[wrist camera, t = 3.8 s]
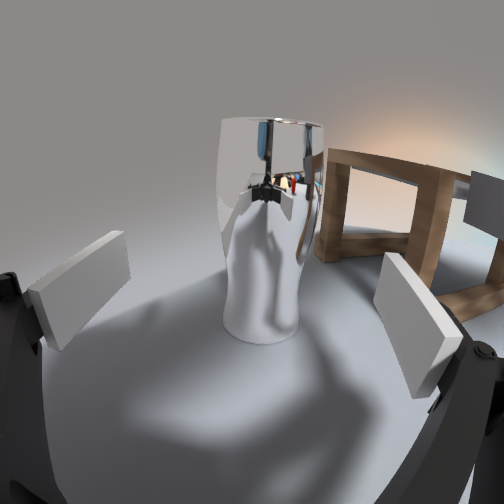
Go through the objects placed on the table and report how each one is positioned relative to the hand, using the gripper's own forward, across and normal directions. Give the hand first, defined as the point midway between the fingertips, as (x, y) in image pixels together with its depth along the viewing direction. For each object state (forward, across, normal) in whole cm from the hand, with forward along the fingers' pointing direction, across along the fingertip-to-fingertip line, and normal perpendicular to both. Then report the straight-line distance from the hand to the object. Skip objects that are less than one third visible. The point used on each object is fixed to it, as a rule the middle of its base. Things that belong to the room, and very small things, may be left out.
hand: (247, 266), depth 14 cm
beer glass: (+7, 0, -8) cm, 10 cm away
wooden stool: (+17, +18, -8) cm, 26 cm away
